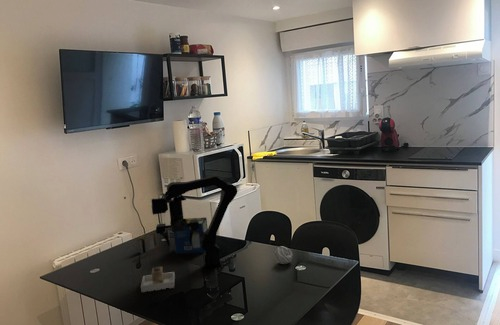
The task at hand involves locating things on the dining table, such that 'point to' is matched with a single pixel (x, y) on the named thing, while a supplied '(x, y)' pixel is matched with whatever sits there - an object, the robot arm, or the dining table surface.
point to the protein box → (183, 238)
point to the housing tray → (149, 286)
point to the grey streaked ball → (283, 255)
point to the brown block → (157, 275)
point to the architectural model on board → (147, 242)
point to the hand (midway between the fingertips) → (179, 245)
